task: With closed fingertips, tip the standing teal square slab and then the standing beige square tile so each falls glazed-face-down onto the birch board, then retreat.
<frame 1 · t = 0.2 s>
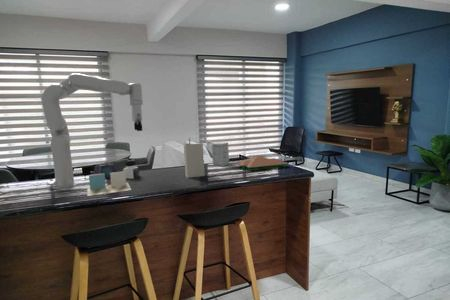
hand: (138, 130, 192), 31 cm above the countertop, fingers open, 9 cm apart
teal square slab: (98, 188, 168), point 1 cm above the countertop, touching board
beige box with antenna: (195, 176, 196), on the countertop
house: (260, 167, 218), on the countertop
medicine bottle: (131, 178, 194), on the countertop
supplement box: (221, 165, 229), on the countertop
beige square tile: (118, 185, 173), point 1 cm above the countertop, touching board
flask: (107, 178, 197), on the countertop
board: (109, 190, 167), on the countertop
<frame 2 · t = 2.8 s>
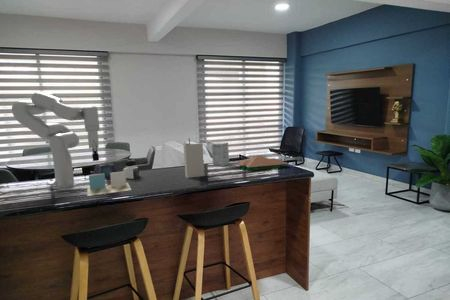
hand: (96, 160, 171), 16 cm above the countertop, fingers closed
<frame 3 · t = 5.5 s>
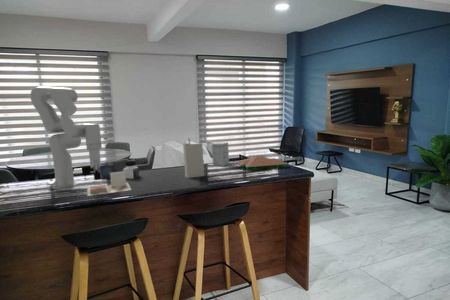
hand: (97, 179, 165), 7 cm above the countertop, fingers closed
teal square slab: (97, 187, 167), point 2 cm above the countertop, tilted 90°, touching board
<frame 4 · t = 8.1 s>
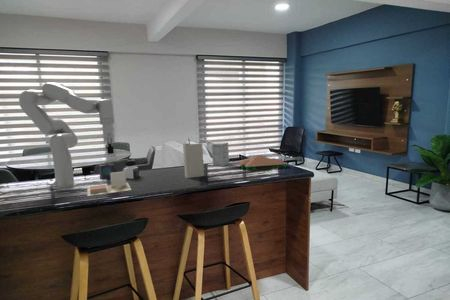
hand: (110, 153, 173), 20 cm above the countertop, fingers closed
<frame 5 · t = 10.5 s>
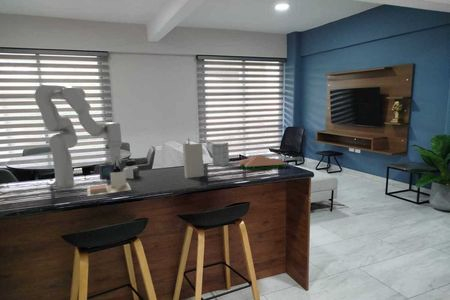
hand: (117, 175, 174), 7 cm above the countertop, fingers closed
beige square tile: (118, 185, 173), point 1 cm above the countertop, touching board, gripper
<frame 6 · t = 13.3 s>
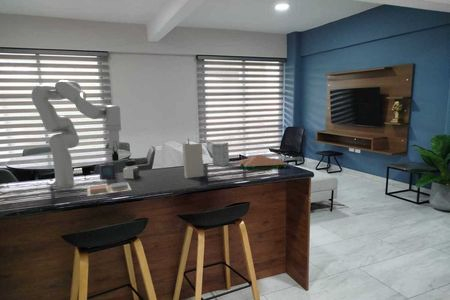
hand: (115, 160, 169), 16 cm above the countertop, fingers closed
beige square tile: (118, 184, 172), point 2 cm above the countertop, tilted 90°, touching board
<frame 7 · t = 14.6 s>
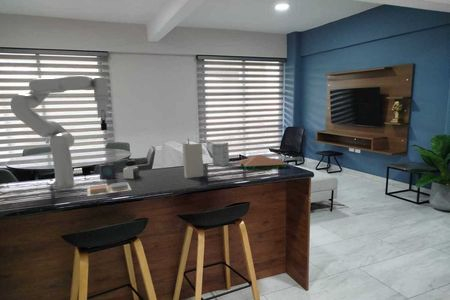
hand: (104, 130, 178), 33 cm above the countertop, fingers closed
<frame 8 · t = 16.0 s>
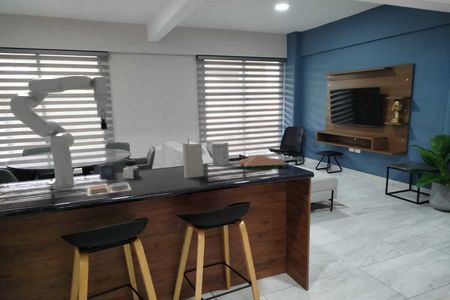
hand: (104, 129, 178), 33 cm above the countertop, fingers closed
at the end: teal square slab tilted 90°; beige square tile tilted 90°; teal square slab inside the target area (6.2 cm from its centre), point 2.0 cm above the countertop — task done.
